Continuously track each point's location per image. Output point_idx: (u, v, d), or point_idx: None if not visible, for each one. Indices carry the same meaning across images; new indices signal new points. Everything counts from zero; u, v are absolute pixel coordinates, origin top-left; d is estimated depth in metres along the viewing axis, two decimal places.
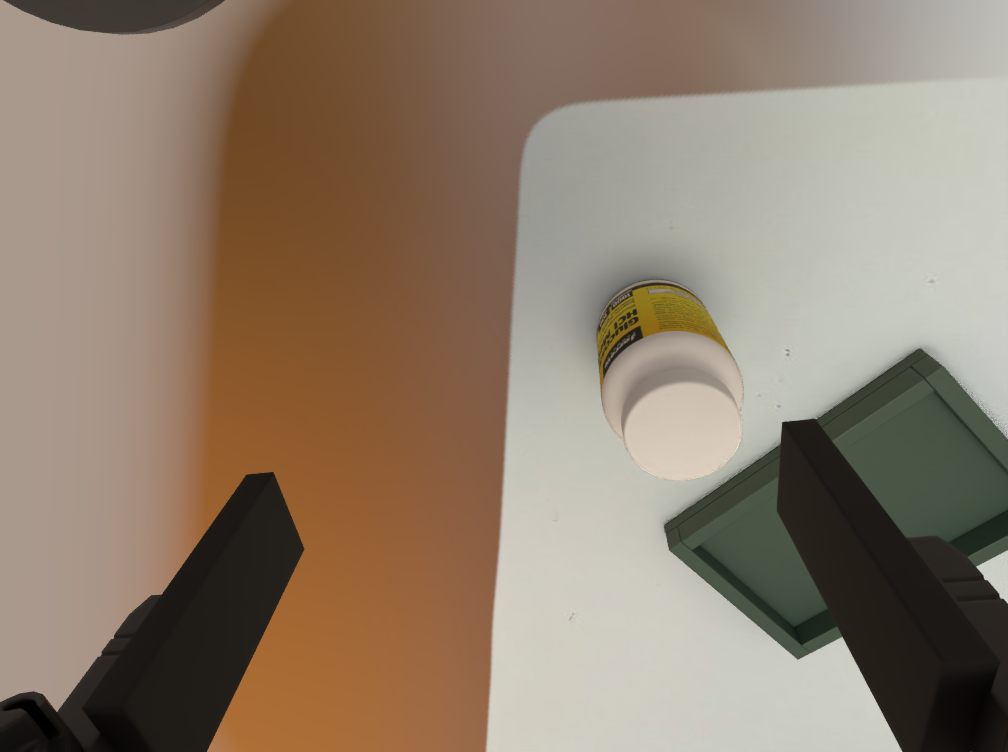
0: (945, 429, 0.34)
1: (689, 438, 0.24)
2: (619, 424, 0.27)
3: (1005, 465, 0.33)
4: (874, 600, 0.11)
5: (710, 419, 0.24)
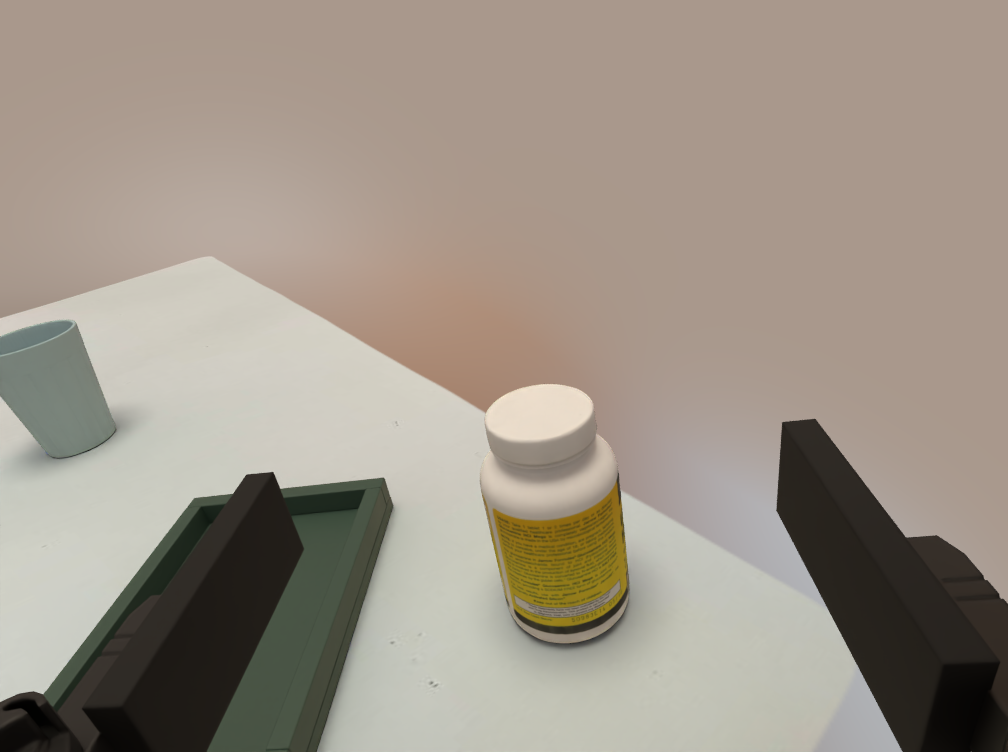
0: None
1: (529, 411, 0.26)
2: None
3: None
4: (874, 600, 0.11)
5: (533, 426, 0.24)
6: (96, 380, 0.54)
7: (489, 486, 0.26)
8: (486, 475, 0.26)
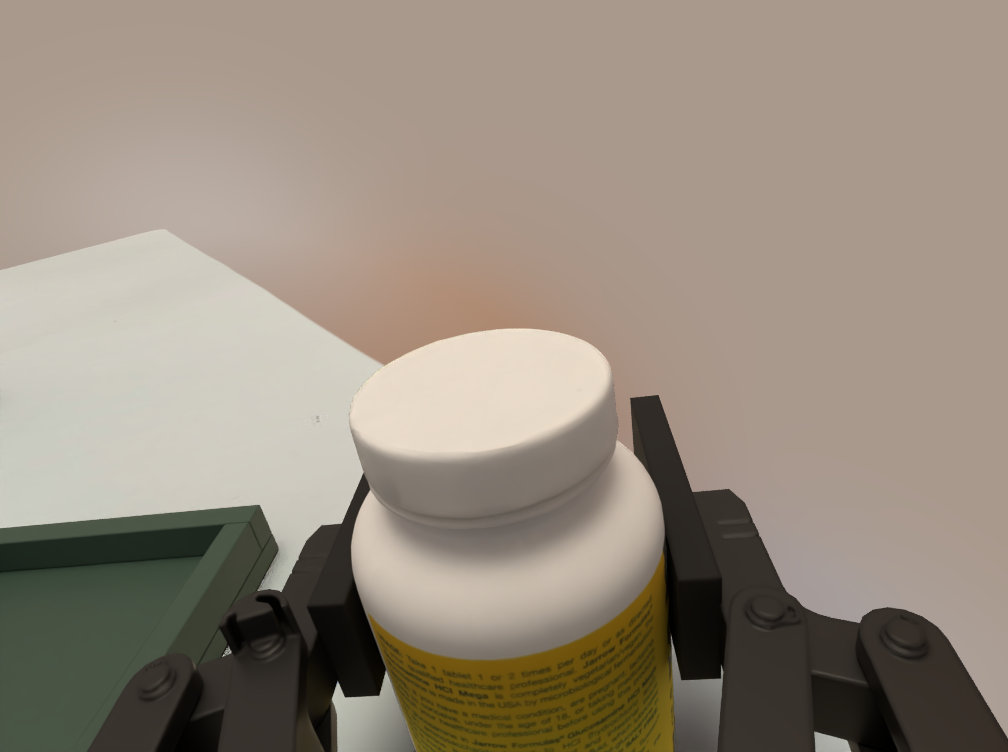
0: None
1: (457, 384, 0.11)
2: None
3: None
4: None
5: (458, 417, 0.10)
6: None
7: (360, 561, 0.11)
8: (358, 533, 0.11)
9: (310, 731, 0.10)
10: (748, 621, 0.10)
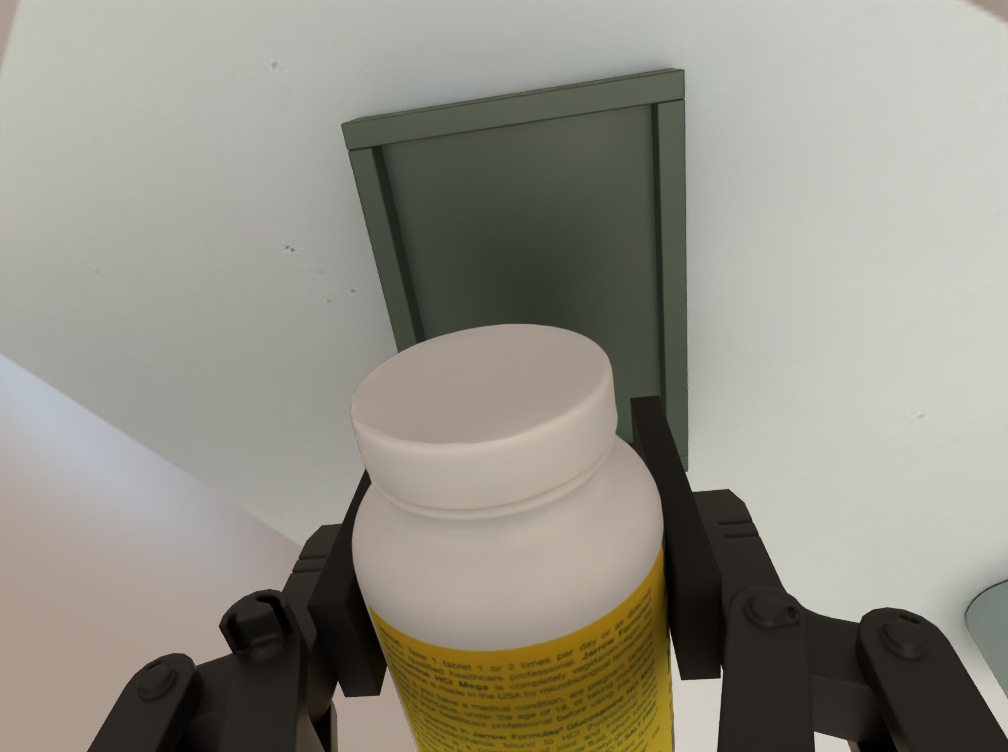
0: (472, 149, 0.25)
1: (457, 378, 0.11)
2: None
3: (536, 119, 0.23)
4: None
5: (459, 410, 0.10)
6: None
7: (361, 553, 0.11)
8: (359, 526, 0.11)
9: (310, 731, 0.10)
10: (748, 621, 0.10)
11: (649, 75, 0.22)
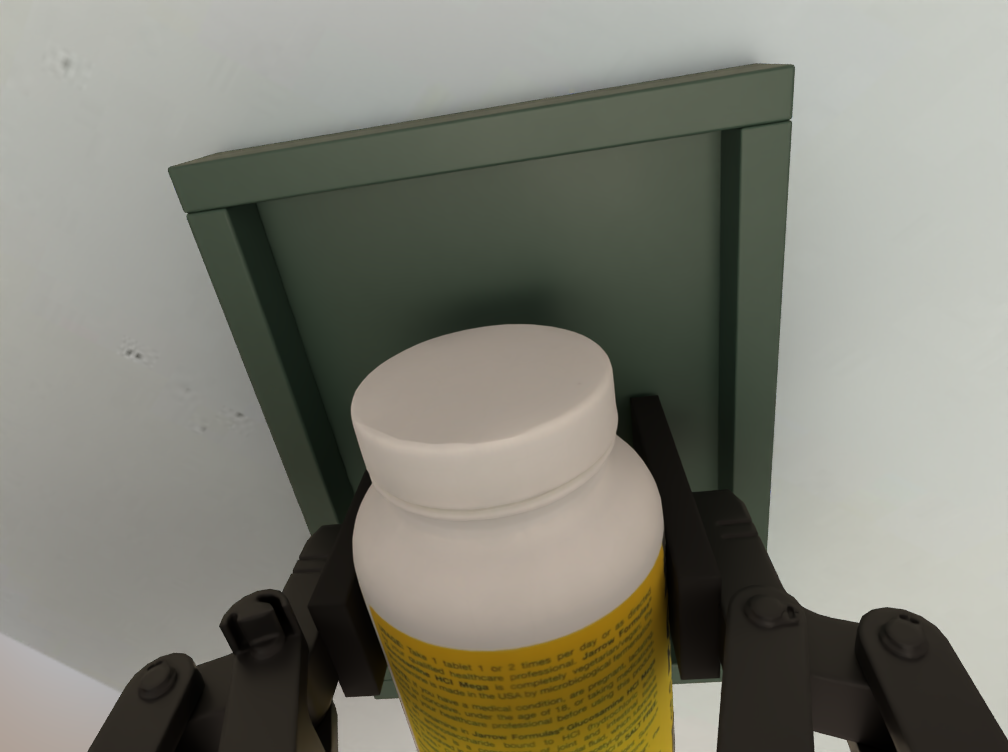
0: (410, 205, 0.15)
1: (458, 378, 0.11)
2: None
3: (517, 157, 0.13)
4: None
5: (459, 410, 0.10)
6: None
7: (361, 554, 0.11)
8: (360, 526, 0.11)
9: (311, 731, 0.10)
10: (747, 621, 0.10)
11: (728, 76, 0.12)
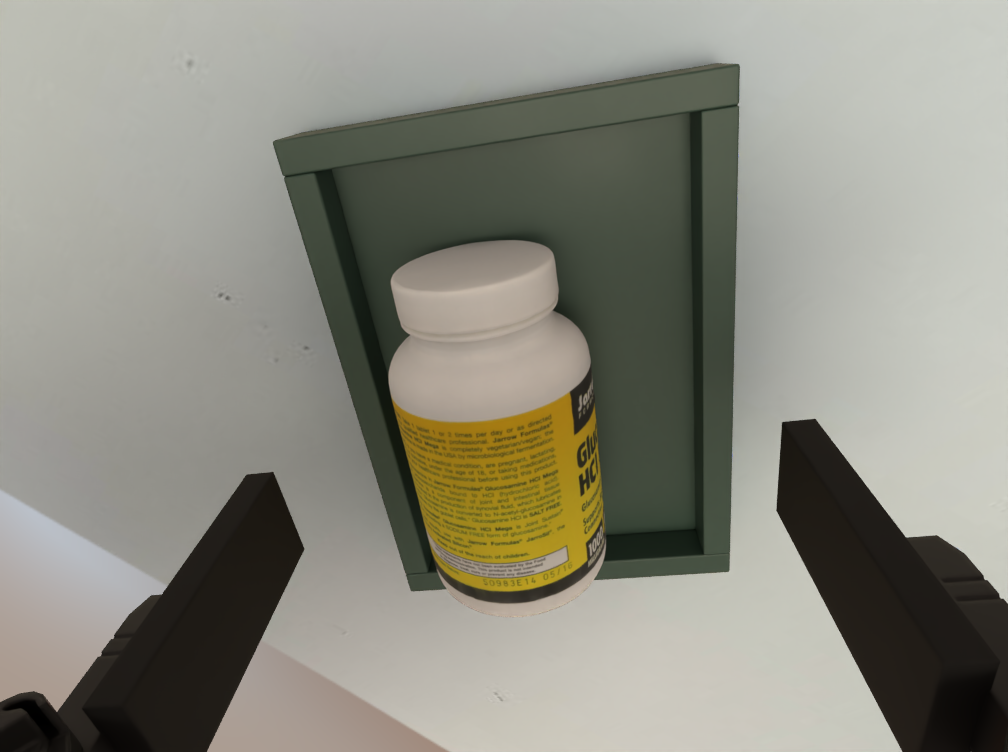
0: (451, 173, 0.19)
1: (459, 264, 0.17)
2: None
3: (535, 133, 0.17)
4: (874, 601, 0.11)
5: (444, 278, 0.16)
6: None
7: (391, 363, 0.18)
8: None
9: None
10: None
11: (691, 73, 0.16)
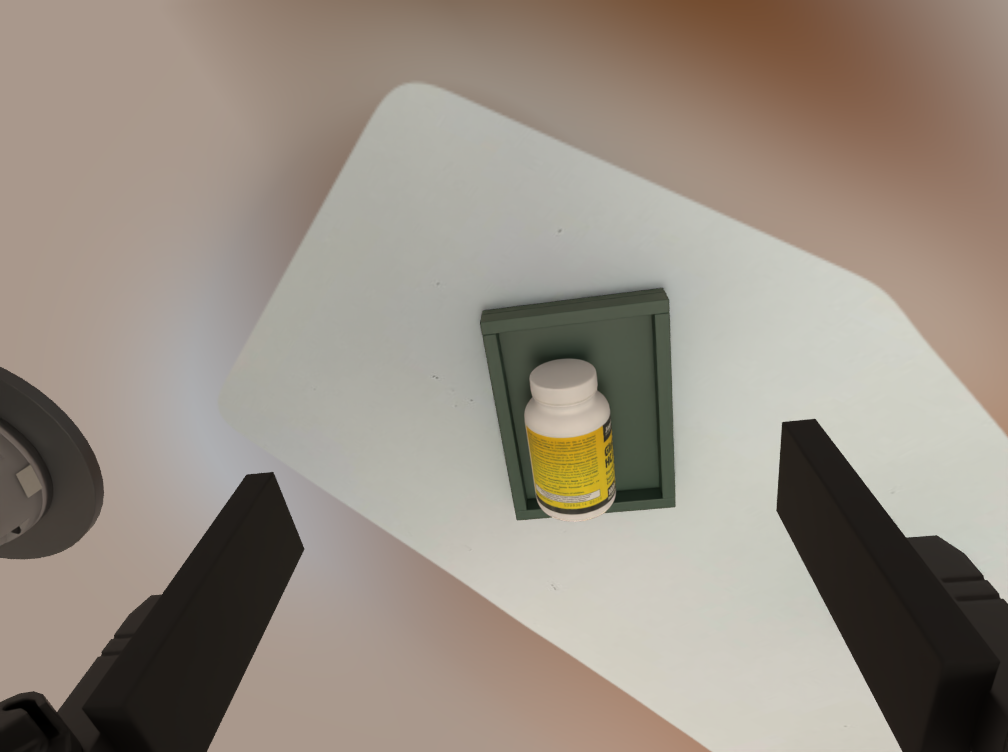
0: (549, 329, 0.44)
1: (557, 373, 0.42)
2: None
3: (588, 321, 0.42)
4: (874, 600, 0.11)
5: (553, 381, 0.41)
6: None
7: (526, 412, 0.43)
8: (527, 406, 0.43)
9: None
10: None
11: (650, 301, 0.41)
